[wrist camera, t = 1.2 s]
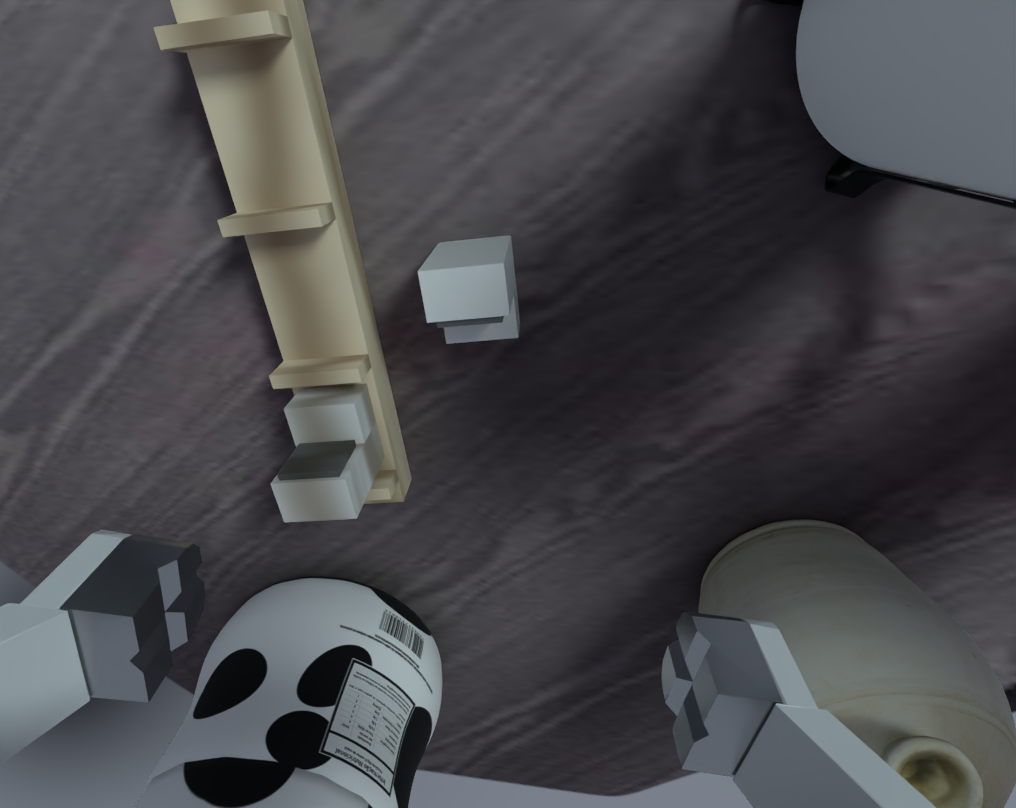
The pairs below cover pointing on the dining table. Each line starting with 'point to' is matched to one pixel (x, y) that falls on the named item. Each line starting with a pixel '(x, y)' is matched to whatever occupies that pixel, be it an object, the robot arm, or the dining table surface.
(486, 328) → the grey block
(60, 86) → the dining table surface
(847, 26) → the coffee press
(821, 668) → the jug
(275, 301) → the rail
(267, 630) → the milk container
